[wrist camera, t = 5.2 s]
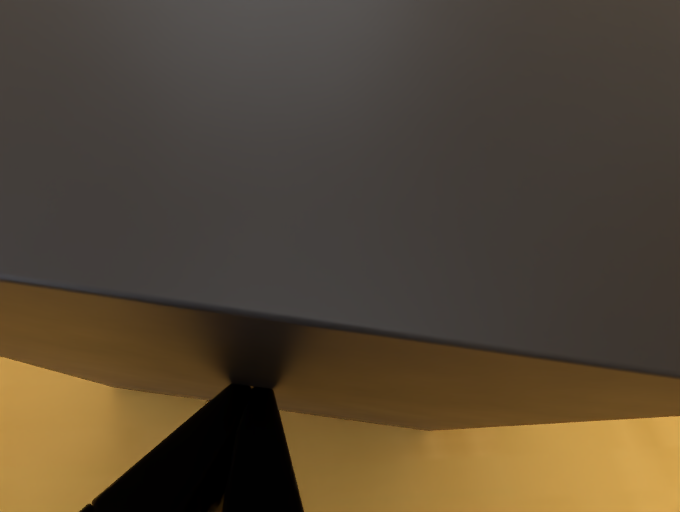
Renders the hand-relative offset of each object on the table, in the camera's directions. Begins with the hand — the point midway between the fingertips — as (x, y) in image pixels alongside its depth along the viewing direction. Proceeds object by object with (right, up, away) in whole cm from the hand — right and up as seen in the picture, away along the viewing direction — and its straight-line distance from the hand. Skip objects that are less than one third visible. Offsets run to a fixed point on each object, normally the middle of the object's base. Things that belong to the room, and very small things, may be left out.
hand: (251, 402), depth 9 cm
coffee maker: (0, +4, +9) cm, 10 cm away
